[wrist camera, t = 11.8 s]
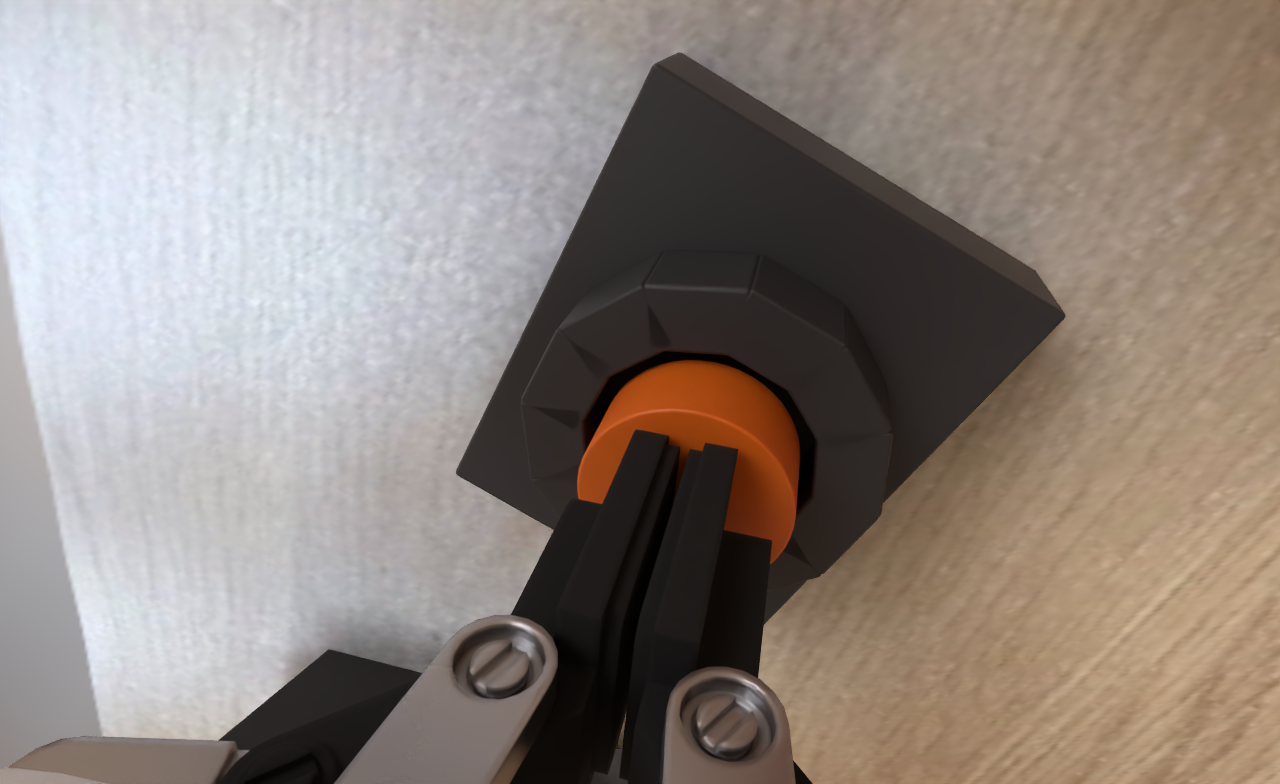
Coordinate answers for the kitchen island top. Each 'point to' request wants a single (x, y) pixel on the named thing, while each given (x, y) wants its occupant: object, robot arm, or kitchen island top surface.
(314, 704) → the character figurine
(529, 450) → the control block
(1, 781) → the robot arm
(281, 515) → the kitchen island top surface
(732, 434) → the button
